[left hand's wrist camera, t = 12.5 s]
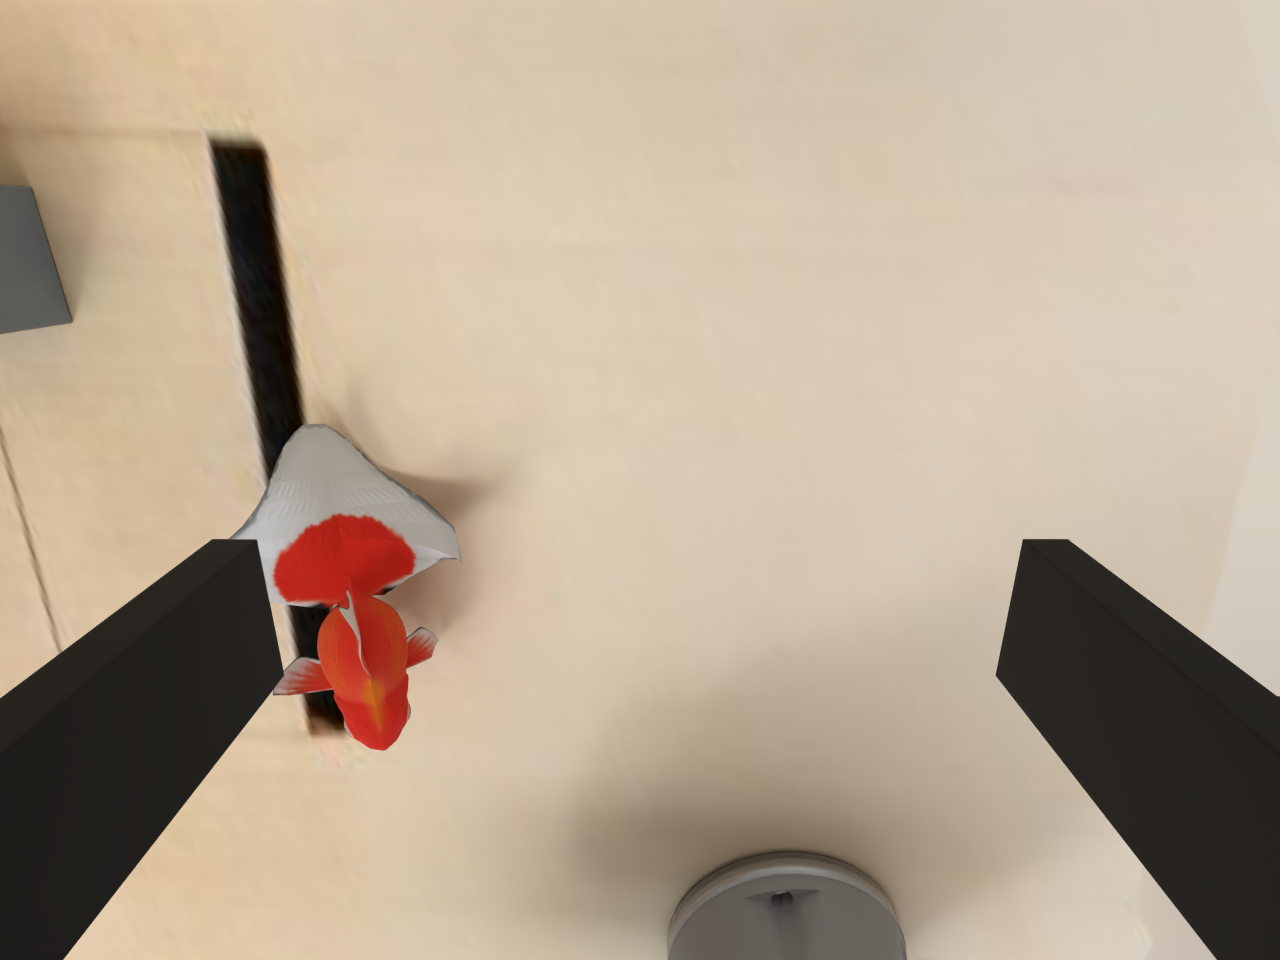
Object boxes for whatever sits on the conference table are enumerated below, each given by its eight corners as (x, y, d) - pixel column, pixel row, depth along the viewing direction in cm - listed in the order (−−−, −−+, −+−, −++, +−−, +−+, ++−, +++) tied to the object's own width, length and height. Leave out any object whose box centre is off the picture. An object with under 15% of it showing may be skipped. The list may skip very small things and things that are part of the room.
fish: (208, 729, 37) (164, 793, 27) (249, 428, 38) (221, 393, 29) (425, 726, 41) (451, 780, 32) (454, 453, 42) (486, 430, 33)
